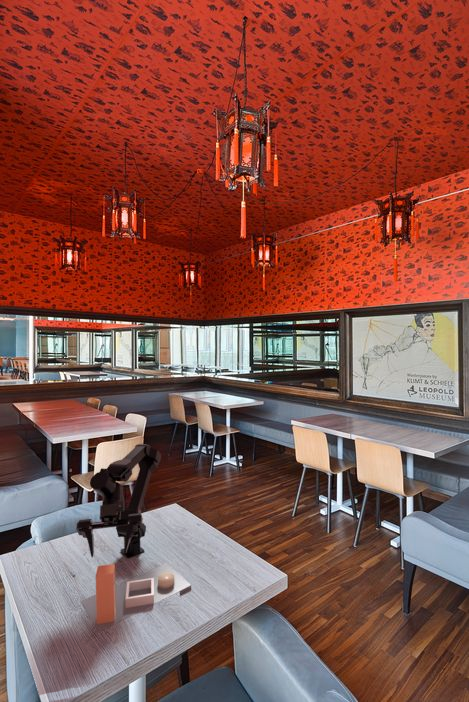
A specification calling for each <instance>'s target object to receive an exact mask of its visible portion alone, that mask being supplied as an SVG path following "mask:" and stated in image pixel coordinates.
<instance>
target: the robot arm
mask: <svg viewBox="0 0 469 702" xmlns="http://www.w3.org/2000/svg"><path fill="white" fill-rule="evenodd" d="M161 461H162V454H161V452H160V451H159V450H158V449H156V448H154V447H152V446H151V445H150V444H147V443H145V444H144V443H138V444H136V445H134V448H133V449H132V450H131V451H129V452H128V453H127V455H125V456H124V457H123V458H122V459H117V460H115V461H113V462H111V463H110V464H109V465H108V466H107V468H104V467H103V468H100V469H99V471H98V472H96V473H95V474H94V475H92V476H91V478H90V482H89V486H90V488H91V489H93V490H94V492H96V493H97V494H98V495H100V496H101V497H102V501H101V502H102V503H101V505H99V520H100V521H97V522H96V521H94V522H93V520H92V518H86V519H79V520H78V521H77V523H76V529H75V530H76V532H77V535H79V536H80V537H81V536H82V538H83V539H86V540H87V543H88V548H89V552H90V556H91V558H93V557H94V555H95V554H94V553H95V551H94V550H95V549H94V548H95V546H94V544H95V543H94V539H95V538H94V530H100V529H109V528H115V530H116V533H117V534H116V535H117V537H118V538H123V548H121V549H120V553H121V554H122V555H124V557H125V558H126V559H131V558H133V557H135V556H138V555H140V554H143V553H145V549H144V548H143V547H141V538H144V537H145V536H146V532H147V525H145V523H143V519H144V518H143V514H142V509H143V508H142V507H143V504H144V501H145V497H146V493H147V490H148V487H149V483H150V480H151V476H152V474H153V473H154V472H155V471H156V470H157V469H158V466H159V464H160V463H161ZM137 465H138V468H139V471H138V474H137V477H136V480H135V483H134V486H133V489H132V492H131V496H130V498H129V502H128V505H127V507H125V499H122V492H123V491H124V489H123V487H122V485H121V482H123V483H124V482H128V481H129V480H130V478H131V476H132V475H133V469H134V468H135V467H136V466H137ZM119 482H120V483H119Z"/></svg>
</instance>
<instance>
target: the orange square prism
mask: <svg viewBox="0 0 469 702" xmlns="http://www.w3.org/2000/svg"><path fill="white" fill-rule="evenodd" d="M95 573H96V574H95V595H96V608H97V624H102V623H107V622H113V621H115V613H116V593H115V586H116V564H115V563H111V564H101V565H98V566H97V568H96V572H95Z"/></svg>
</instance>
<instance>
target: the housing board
mask: <svg viewBox="0 0 469 702" xmlns="http://www.w3.org/2000/svg"><path fill="white" fill-rule="evenodd" d="M191 589H192V585H191V583H189V582H188V581H187V580H186V579H185V578H184V577H183V576H182V575H181V574H180V573H178V571H176V570H175V568H173V567H171V565H169V564H168V562H166V563H163V564H161V565H159V566H157V567H154V568H152V569H150V570H148V571H144V572H143V573H141V574H139V575H136V576H135V577H132V578H130V579H128V580H126V581H123V582H121V583H118V584H117V585H116V584H115V593H116V613H115V621H113V622H107V623H102V624H97V608H96V594H94V595H91V596H90V597H87V598H85V599H82V600H81V601H80V603H81V604H82V607H83V608H84V610H85V611H86V614H88V616H89V618H90V619H91V622H92V623H93V625H94V626H95V628H96V630H97V632H98V633H100V632H102V631H105V630H106V629H108V628H110V627H113V626H114V625H117V624H118V623H121V622H122V621H124V620H126V619H128V618H130V617H132V616H134V615H136V614H138V613H140V612H142V611H144V610H146V609H148V608H149V607H152V606H154V605H156V604H157V603H159V602H161V601H164V600H165V599H167V598H169V597H171V596H173V595H175V594H177V593H178V592H179V595H180V594H183V593H185V592H187V591H189V590H191Z"/></svg>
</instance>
